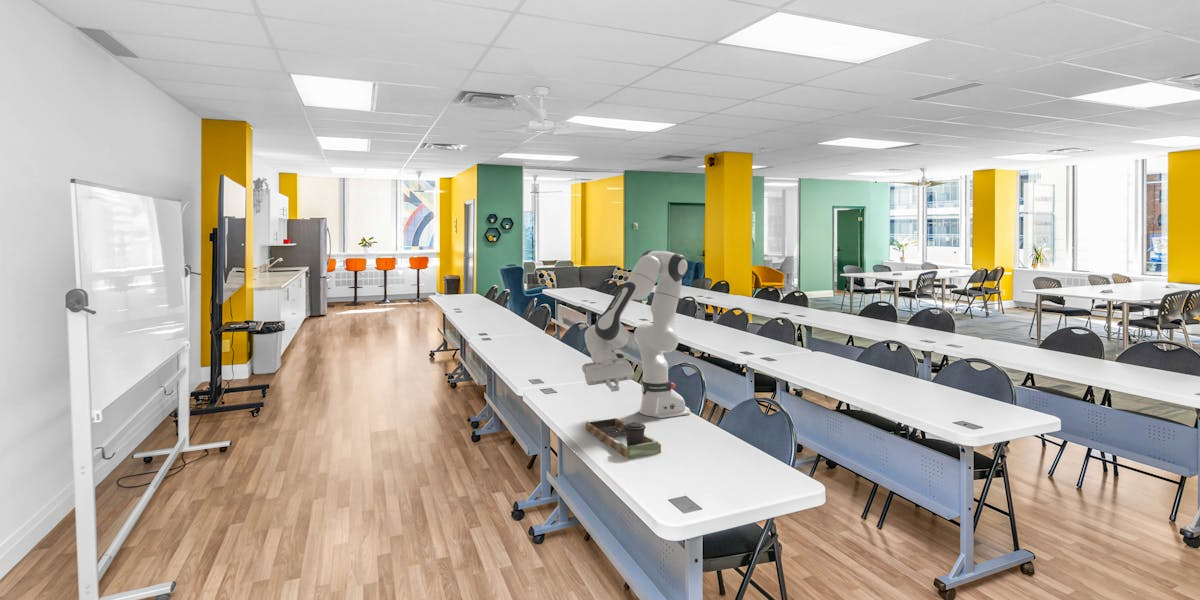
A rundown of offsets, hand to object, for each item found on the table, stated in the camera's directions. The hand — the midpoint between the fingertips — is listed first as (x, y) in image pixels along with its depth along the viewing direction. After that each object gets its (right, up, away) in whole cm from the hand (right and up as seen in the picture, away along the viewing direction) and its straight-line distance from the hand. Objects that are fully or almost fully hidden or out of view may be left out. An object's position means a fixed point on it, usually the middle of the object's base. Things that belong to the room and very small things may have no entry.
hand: (615, 390), depth 247 cm
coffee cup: (+7, -20, -14) cm, 25 cm away
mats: (-2, -18, +6) cm, 19 cm away
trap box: (+2, -19, -3) cm, 19 cm away
